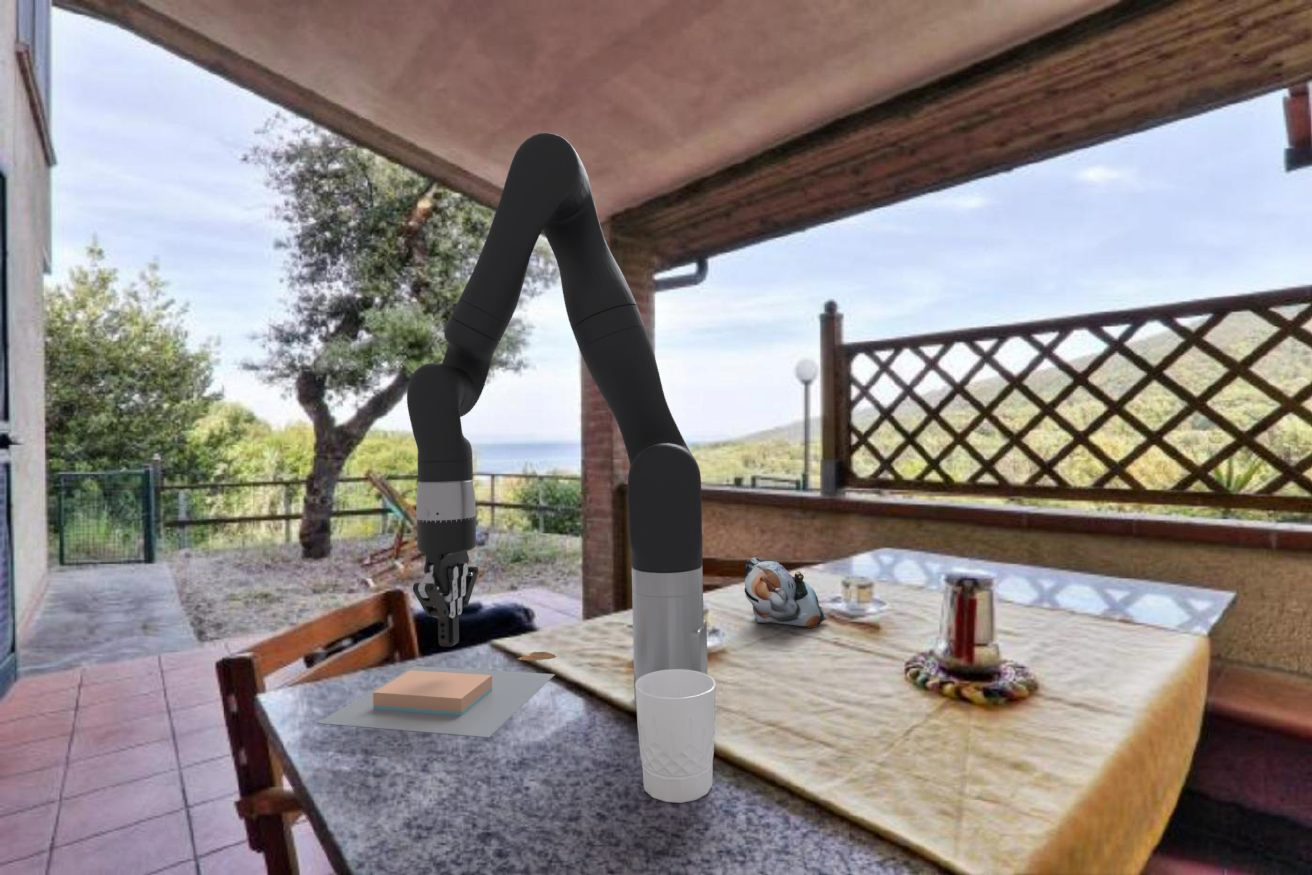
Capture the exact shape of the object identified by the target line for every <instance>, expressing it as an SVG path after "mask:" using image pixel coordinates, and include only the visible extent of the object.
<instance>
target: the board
mask: <svg viewBox="0 0 1312 875" xmlns="http://www.w3.org/2000/svg"><path fill="white" fill-rule="evenodd" d="M410 670H414V671H430V672H447V673H463V674H479V675H492V691H491V692H490V693H489V694H487V695H486V696H485V697H484V698H482V699H481V700H480V701H479V702H478V703H476V704H475V705H474V706H473V707H471V708H470V709H469V710H468V711H466V712H465V713H464V714H463V715H451V714H438V713H425V712H412V711H399V710H385V709H373V692H375V691H376V690H378V689H380V688H381V687H383V686H385V685H386V684H388V683H390V682H391V681H393V680H395V679H397V678H398V677H400V676H402V675H403V674H405V673H407V672H408V671H410ZM555 675H556V674H555V673H538V672H526V671H525V672H522V671H507V670H506V671H503V670H489V669H472V668H471V669H470V668H459V667H458V668H455V667H440V666H438V667H437V666H422V665H421V666H420V665H419V666H418V665H414V666H412V667H410V668H408V669H406V670H405V671H403V672H401V673H400V674H398V675H395V677H393V678H391V679H390V680H388V681H386V682H384V683H383V684H381V685H379V686H378V687H376V688H375V689H372V690H370V691H369V692H367V693H366V694H363V696H360V697H359V698H357V699H356V700H354V701H352V702H350V703H348V704H346V705H345V706H343V707H342V708H340V709H338V710H336V711H334V712H333V713H331V714H329V715H328V716H327V717H325V718H323V719H321V720H320V721H318V722H317V724H319V725H320V724H322V725H333V726H334V725H335V726H343V727H344V726H346V727H356V728H357V727H358V728H366V729H367V728H370V729H380V730H392V731H393V730H394V731H405V732H416V733H417V732H419V733H428V734H429V733H430V734H441V735H453V736H454V735H455V736H465V737H477V738H490V737H491V736H492V735H493V734H494V733H496V732H497V730H498V729H500V728H501V726H503V725H504V724H505V723H506V722H507V721H508V720H509V719H510V718H512V716H513V715H514V714H515V713H516V712H518V711H519V710H520V709H521V707H523V706H524V705H525V704H526V703H527V702H528V701H529V700H530V699H531V698H532V697H533V696H534V695H535V694H536V693H538V691H539V690H541V689H542V688H543V687H544V686H545V685H546V684H547V683H548V682H549V681H550V680H551V679H552V678H553V677H554V676H555Z"/></svg>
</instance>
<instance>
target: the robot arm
mask: <svg viewBox="0 0 1312 875" xmlns="http://www.w3.org/2000/svg"><path fill="white" fill-rule="evenodd" d="M590 182H591V181H590V178H589V176H588V173H587V171H586V168H585V166H584V164H583V161H582V160H581V158H580V156H579V154H578V152H577V151H576V149H575V148H574V146H573V145H572V144H571V143H570V142H569V141H568V140H567V139H566V138H564V137H563V136H561V135H559V134H556V133H551V132H542V133H541V132H540V133H536V134H535V135H532V136H530V137H528V138H527V139H525V141H523V142H522V143H521V144H520V146H518V148H517V150H516V152H515V153H514V156H513V158H512V161H511V164H510V167H509V170H508V172H507V176H506V180H505V183H504V184H503V185H504V186H503V189H502V193H501V196H500V199H499V202H498V205H497V209H496V212H495V214H494V216H493V219H492V223H491V226H490V228H489V231H488V234H487V237H486V239H485V242H484V244H483V247H482V249H481V252H480V254H479V256H478V259H477V261H476V264H475V266H474V268H473V270H472V273H471V275H470V277H469V279H468V281H467V283H466V286H465V287H464V289H463V291H462V293H461V295H460V297H459V299H458V301H457V303H456V305H455V306H454V310H452V313H451V315H450V317H449V319H448V321H447V323H446V326H445V327H444V328H445V329H444V332H443V333H444V334H443V335H444V339H445V341H446V342H447V348H446V352H445V355H444V356H443V360H442V362H441V363H439V362H429V363H425V364H422V365H421V366H419V367H418V368H417V369H416V370H414V372H413V373H412V375H411V377H410V379H409V382H408V385H407V391H406V403H407V404H406V405H407V409H408V417H409V420H410V424H411V425H410V426H411V430H412V433H413V434H412V435H413V437H414V441H415V443H416V447H417V491H416V497H415V498H416V508H415V510H416V548H417V551H418V552H420V553H421V554H424V555H425V562H424V567H423V571H424V577H423V579H422V580H421V582H415V583H414V584H413V586H412V591H413V593H414V596H416V598H417V600H418V602H419V604H420V605H421V607H422V609H423V610H424V612H425V614H426V616H427V617H433V618H436V619H437V638H438V645H439V646H441V647H450V648H451V647H453V646H455V645H456V644H458V643H459V641H460V624H459V623H460V621H459V620H460V617H459V616H461V614H462V612H463V608H467V607H469V606H468V605H469V602H470V601H471V600H470V599H471V597H472V593H473V590H474V587H475V584H476V580H477V577H478V573H479V567H478V566H472V565H471V564H470V556H469V553H468V552H469V551H472V550H473V549H475V548H476V546H477V523H476V522H477V520H476V519H477V517H476V516H477V514H476V494H475V488H474V487H475V486H474V480H473V479H474V473H473V471H474V466H473V465H474V464H473V462H474V461H473V448H472V444H471V442H470V441H469V439H467V437H465V436H464V433H463V427H462V420H461V418H462V417H464V416H466V415H467V414H468V413H470V412H471V411H472V410H473V408H474V407H475V406H476V404H477V403H478V401H479V399H480V398H481V395H482V393H483V391H484V387H485V384H486V382H487V377H488V375H489V372H490V367H491V363H492V358H493V356H494V352H495V351H496V349H497V347H498V346H499V344H500V342H501V340H502V338H503V336H504V335H505V332H506V331H507V328H508V326H509V324H510V322H511V320H512V319H513V316H514V313H515V311H516V308H517V306H518V303H519V300H520V297H521V294H522V290H523V286H524V282H525V278H526V275H527V274H526V273H527V270H528V267H529V263H530V260H531V256H532V253H533V252H534V248H535V247H536V244H537V241H538V239H539V237H540V235H541V233H542V231H543V233H544V236H545V238H546V240H547V242H548V244H549V246H550V248H551V250H552V253H553V256H554V258H555V261H556V264H557V268H558V271H559V275H560V282H561V290H562V294H563V301H564V307H565V310H566V314H567V317H568V321H569V326H570V328H571V330H572V333H573V335H574V338H575V341H576V344H577V346H578V350H579V351H580V355H581V357H582V359H583V361H584V363H585V365H586V369H587V370H588V372H589V374H590V375H591V378H592V380H593V381H594V383H595V385H596V387H597V388H598V390H599V392H600V393H601V394H600V395H602V397H603V399H604V401H605V403H606V404H607V405H608V406H607V407H608V408H609V409H610V411H611V412H612V415H613V417H614V418H615V421H616V424H617V426H618V428H619V430H620V433H621V434H620V435H621V437H622V440H623V444H624V447H625V450H626V454H627V457H628V461H629V465H630V467H629V471H628V475H627V512H628V513H627V514H628V515H627V516H628V538H629V539H628V541H629V542H628V543H629V548H630V556H631V558H630V559H631V589H632V590H631V591H632V592H631V598H632V600H631V601H632V602H631V603H632V639H633V642H632V648H633V649H632V650H633V652H632V653H633V688H634V689H633V690H634V692H633V693H634V695H633V696H634V701H635V702H636V692H635V683H636V681H637V680H638V679H639V678H640V677H641V676H643V675H645V674H648V673H651V672H655V671H660V670H668V669H685V670H693V671H698V672H702V673H705V674H707V675H709V674H708V673H709V672H708V671H709V670H708V629H707V628H708V626H707V624H708V623H707V621H706V619H704V584H703V582H704V581H703V580H704V578H703V577H704V576H703V573H704V572H703V571H704V570H703V514H702V512H703V511H702V510H703V509H702V476H701V471H700V466H699V463H698V462H697V460H696V458H695V457H694V455H693V453H692V452H691V451H690V449H689V447H688V445H687V443H686V441H685V439H684V437H683V435H682V434H681V432H680V430H679V427H678V425H677V423H676V421H675V419H674V416H673V415H672V412H671V410H670V408H669V405H668V403H667V399H666V396H665V393H664V388H663V385H662V384H663V383H662V380H661V376H660V372H659V369H658V364H657V360H656V357H655V354H654V350H653V346H652V343H651V340H650V337H649V333H648V330H647V328H646V326H645V322H644V320H643V317H642V314H641V312H640V309H639V307H638V304H637V302H636V300H635V296H634V294H633V293H632V290H631V289H630V286H629V284H628V283H627V280H626V278H625V276H624V274H623V272H622V270H621V268H620V266H619V265H618V263H617V261H616V259H615V257H614V256H613V254H612V252H611V250H610V248H609V245H608V244H607V241H606V237H605V234H604V232H603V229H602V226H601V222H600V218H599V214H598V211H597V207H596V203H595V200H594V199H595V198H594V197H593V191H592V187H591V183H590Z"/></svg>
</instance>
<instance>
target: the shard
mask: <svg viewBox="0 0 1312 875" xmlns="http://www.w3.org/2000/svg"><path fill="white" fill-rule="evenodd" d="M555 658H557V655H556V654H553V653H550V652H548V651H533V652H531V653H528V654H525V655H523V656H522V655H521V656H519V657H518V658H516V659H517V660H520V661H543V660H552V659H555Z"/></svg>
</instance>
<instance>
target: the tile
mask: <svg viewBox="0 0 1312 875" xmlns="http://www.w3.org/2000/svg"><path fill="white" fill-rule="evenodd" d="M491 691H492V675H479V674H463V673H447V672H430V671H414V670H410V671H408V672H407V673H405V674H403V675H402V676H400V677H398V678H397V679H395V680H393V681H391V682H390V683H388V684H386V685H385V686H383V687H381V688H380V689H378V690H376V691H375V692H373V709H385V710H399V711H412V712H425V713H438V714H451V715H463V714H464V713H465V712H466V711H468V710H469V709H470V708H471V707H473V706H474V705H475V704H476V703H478V702H479V701H480V700H481V699H482V698H484V697H485V696H486V695H487V694H489V693H490V692H491Z"/></svg>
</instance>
